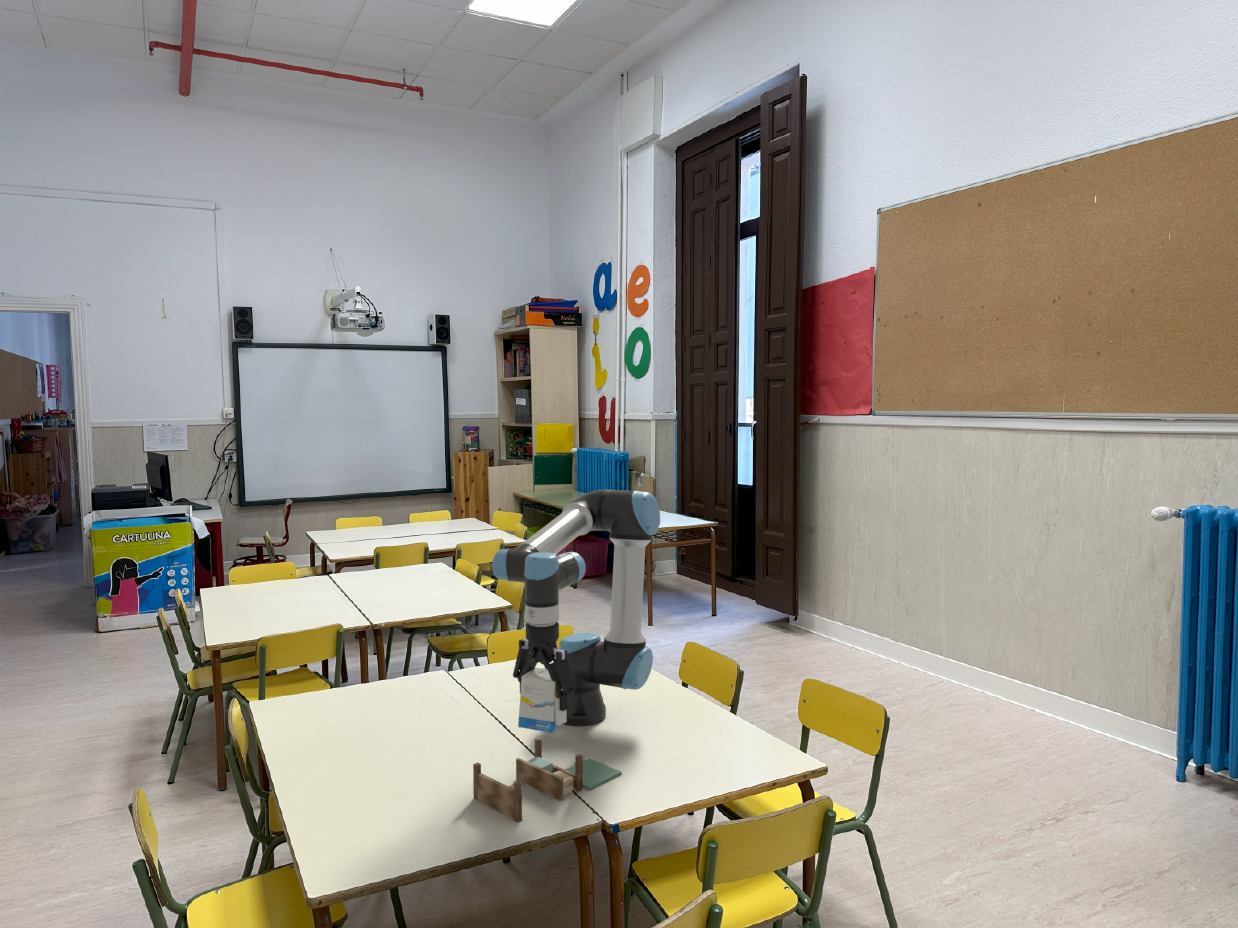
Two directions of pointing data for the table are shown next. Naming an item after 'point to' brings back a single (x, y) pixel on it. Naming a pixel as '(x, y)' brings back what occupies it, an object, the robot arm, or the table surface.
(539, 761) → the offcut
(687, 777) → the table surface
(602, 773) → the mat
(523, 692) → the ink box
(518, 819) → the rack
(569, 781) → the offcut
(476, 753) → the table surface
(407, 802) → the table surface
